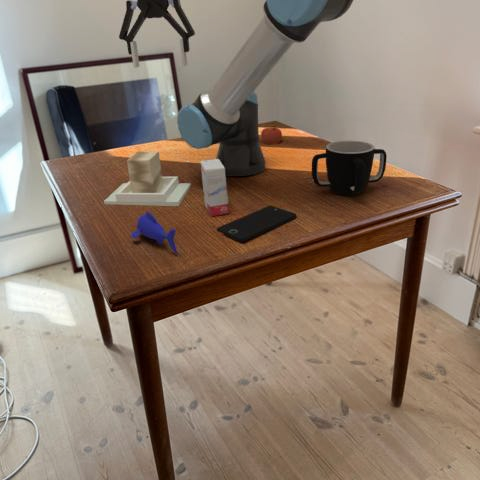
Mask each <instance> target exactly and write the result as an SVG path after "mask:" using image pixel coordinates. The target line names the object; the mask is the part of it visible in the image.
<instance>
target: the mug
mask: <svg viewBox="0 0 480 480" xmlns="http://www.w3.org/2000/svg"><path fill="white" fill-rule="evenodd" d="M375 155H379V164H378V165H379V167H378V170H377V173H376V174H375V175H374V176H371V175H372V169H373V165H374V157H375ZM320 159H325V168H326V169H325V170H326V177H327V180H324V181H323V180H322V181H321V180H320V178H319V176H318V175H319V173H318V172H319V171H318V166H319V165H318V164H319V160H320ZM386 167H387V152H386V151H385V150H384V149H381V148H375V145H373V144H372V143H369V142H368V141H367V142H366V141H363V140H362V141H361V140H338V141H334V142H330V143H328V144H327V145H326V146H325V152H323V153H319V154H318V153H317V154H315V155H313V157H312V159H311V177H312V180H313V183H314V184H315V185H316V186H317V187H320V188H321V187H322V188H326V187H329V189H330V191H331V192H333V193H335V194H337V195H340V196H341V195H342V196H356V195H360V194H362V193H364V192H365V191H366V190H367V187H368V185H369V184H370V183H371V184H372V183H377V182H379V181H381V179H382V178H383V176H384V175H385V172H386Z"/></svg>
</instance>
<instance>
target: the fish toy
mask: <svg viewBox="0 0 480 480" xmlns="http://www.w3.org/2000/svg"><path fill="white" fill-rule="evenodd" d="M136 228H137V230H135V231H133V232H132V233H131V237H132V238H134V239H137V238H138V237H139V235H140V234H141V235H143V236H145V237H147V238H149V239H151V240H152V239H153V240H155V241H156V243H157V244H160V245H161V244H164V240H167V243H168V245H169V247H170V248H171V250H172V251H173V253H175V254H176V255H178V250H177V247H176V244H175V235H176V232H177V230H176V229H174V228H171V229H170V230H168V233H166V232H165V229H164V226H162V225H161V223H160V222H158V220H156V218H155V216H154V215H153V214H152V213H151V212H150V211H146V213H145V214H142V215H140V216H139V218H138V220H137V222H136Z"/></svg>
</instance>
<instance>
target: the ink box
mask: <svg viewBox="0 0 480 480" xmlns="http://www.w3.org/2000/svg"><path fill="white" fill-rule="evenodd" d="M200 167H201V168H200V170H201V180H202V188H203V189H202V190H203V200H204V206H205V207H206V210H207V211H208V214H209V216H211V217H215V216H221V215H227V214H230V207H229V205H230V204H229V197H228V196H229V195H228V186H227V177H226V176H227V175H225V168H224V166H223V165H222V163H221V162H220V160H219V159H216V158H215V159H206V160H201V161H200Z"/></svg>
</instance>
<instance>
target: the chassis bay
mask: <svg viewBox="0 0 480 480" xmlns="http://www.w3.org/2000/svg"><path fill="white" fill-rule="evenodd" d="M162 181H163V188H162V189H161V190H160V191H159V193H132V190H131V184H130V180H129V181H127V182H125V183H124V182H123V183H121V185H119V187H118V188H116V189H115V190H114V191H113V192H112V193H111V194H110V195H109V196H108V197H107V198H106V199H104V201H103V204H104V205H119V206H121V205H123V206H124V205H127V206H130V205H131V206H155V207H159V206H161V207H163V206H164V207H168V206H169V207H179V206H180V205H181V203H182V201H183V199H184V198H185V197H186V195H187V194H188V191H189V190H190V188H191V187H192V183H191V182H190V183H186V182H184V183H183V182H182V183H181V182H180V180H179V176H162Z"/></svg>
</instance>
